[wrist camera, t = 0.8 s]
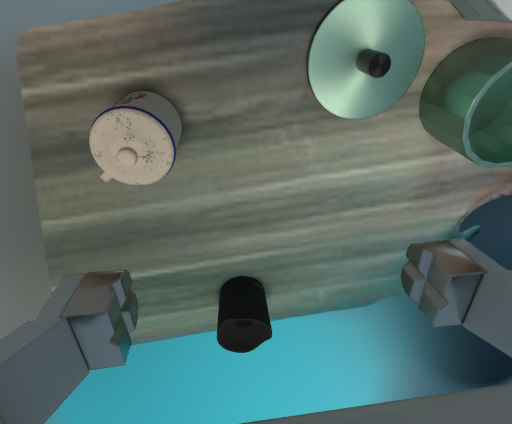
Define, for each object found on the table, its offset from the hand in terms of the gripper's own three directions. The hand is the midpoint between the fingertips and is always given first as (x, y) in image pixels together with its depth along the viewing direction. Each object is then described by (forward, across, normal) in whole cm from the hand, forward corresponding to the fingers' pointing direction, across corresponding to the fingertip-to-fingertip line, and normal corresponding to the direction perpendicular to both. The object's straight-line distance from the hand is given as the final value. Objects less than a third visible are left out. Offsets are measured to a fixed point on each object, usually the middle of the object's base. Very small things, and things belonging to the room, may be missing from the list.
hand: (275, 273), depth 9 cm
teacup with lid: (+36, +12, +4) cm, 38 cm away
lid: (+34, -17, -4) cm, 38 cm away
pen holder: (+39, -1, +36) cm, 53 cm away
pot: (+34, -33, 0) cm, 48 cm away
